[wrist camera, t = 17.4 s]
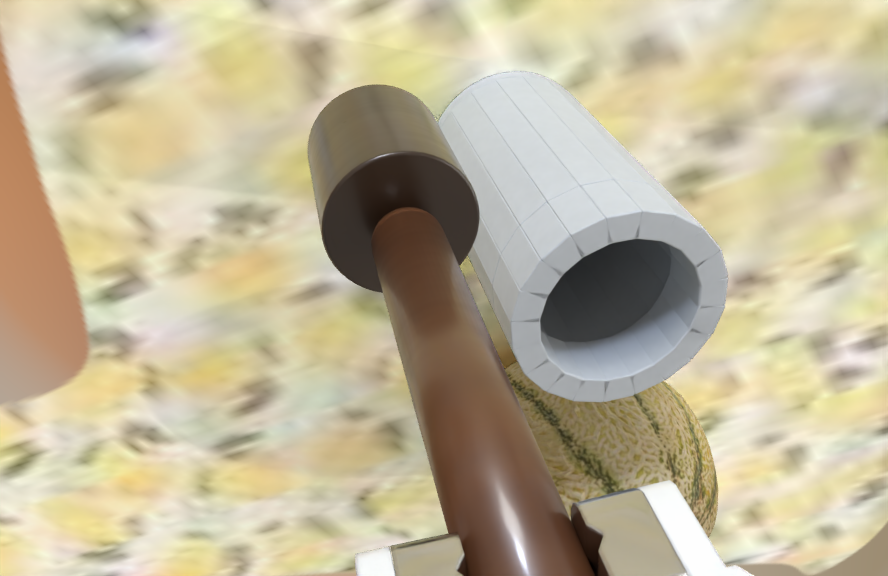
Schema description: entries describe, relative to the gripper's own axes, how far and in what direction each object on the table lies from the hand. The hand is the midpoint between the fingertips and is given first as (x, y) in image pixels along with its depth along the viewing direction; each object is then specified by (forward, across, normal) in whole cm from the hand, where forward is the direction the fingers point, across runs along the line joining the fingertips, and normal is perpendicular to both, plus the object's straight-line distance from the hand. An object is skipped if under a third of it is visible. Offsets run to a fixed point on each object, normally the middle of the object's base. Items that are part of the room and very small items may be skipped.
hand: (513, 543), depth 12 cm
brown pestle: (+15, 0, 0) cm, 15 cm away
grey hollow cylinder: (+30, -8, +8) cm, 32 cm away
